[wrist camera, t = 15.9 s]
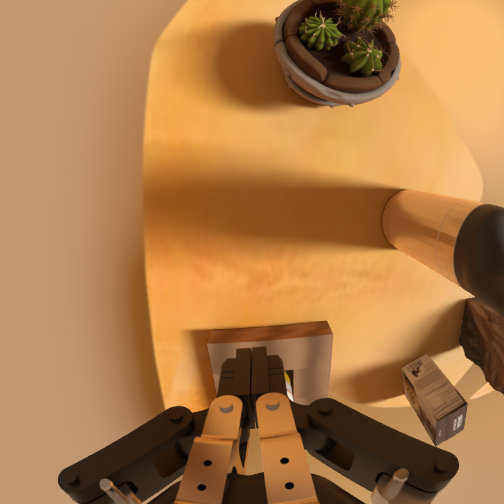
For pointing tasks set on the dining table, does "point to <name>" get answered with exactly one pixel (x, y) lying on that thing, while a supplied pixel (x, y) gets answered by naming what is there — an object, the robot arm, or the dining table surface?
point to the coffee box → (434, 399)
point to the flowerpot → (337, 50)
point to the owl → (484, 340)
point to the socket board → (282, 354)
